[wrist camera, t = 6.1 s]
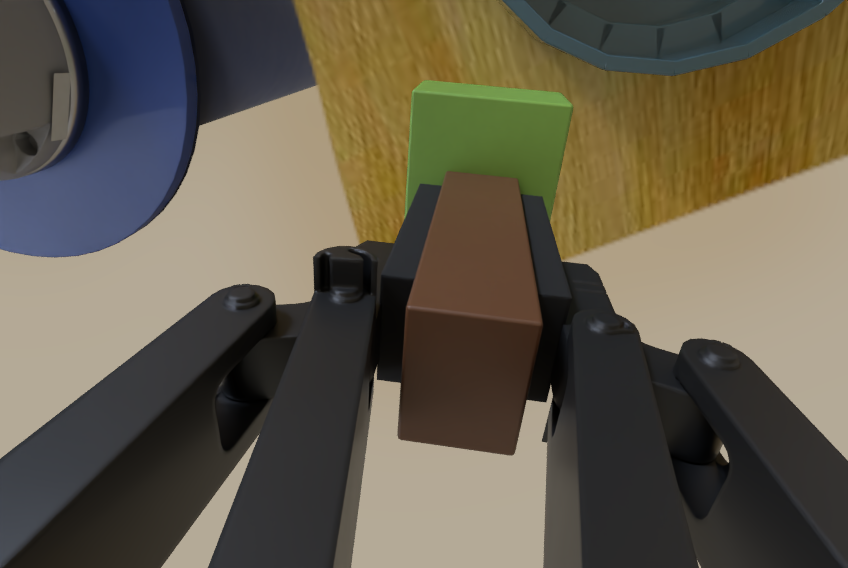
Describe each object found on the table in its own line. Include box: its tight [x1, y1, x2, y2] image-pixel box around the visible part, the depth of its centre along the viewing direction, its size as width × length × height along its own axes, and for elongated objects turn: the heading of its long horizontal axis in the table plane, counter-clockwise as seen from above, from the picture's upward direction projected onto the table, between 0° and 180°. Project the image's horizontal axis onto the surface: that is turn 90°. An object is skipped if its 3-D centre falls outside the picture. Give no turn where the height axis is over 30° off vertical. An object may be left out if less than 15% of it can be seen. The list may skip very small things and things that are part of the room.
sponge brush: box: [398, 80, 573, 455], centre depth 15 cm, size 8×5×12 cm, turn 176°
